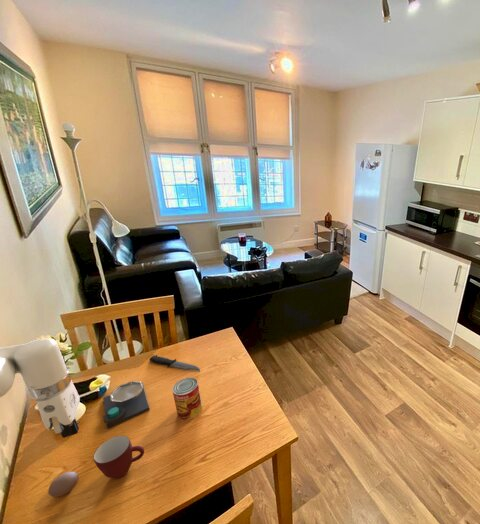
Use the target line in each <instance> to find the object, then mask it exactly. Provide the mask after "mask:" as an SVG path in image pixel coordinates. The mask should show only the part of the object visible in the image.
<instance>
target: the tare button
mask: <svg viewBox="0 0 480 524" xmlns="http://www.w3.org/2000/svg"><path fill="white" fill-rule="evenodd" d="M108 415H109V417H110V418H114V417H116V416H117V415H119V409H118V408H117V407H115V408H112V409H110V410H109V411H108Z"/></svg>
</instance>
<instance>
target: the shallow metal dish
mask: <svg viewBox="0 0 480 524" xmlns="http://www.w3.org/2000/svg"><path fill="white" fill-rule="evenodd" d="M142 383H143V382H142V381H138V380H130V381H127V382H125V383H122V384H119V385H118V386H116V387H115V389H114V390H112V391H111V392H110V393H109V395H110V399H111V402H112V403H120V404H122V403H125V402H128V401H131V400H133V399H135V398H136V397H137V396H138V395H139V394H140V393H141V392H142V391H143V387H144V385H143V386H142Z"/></svg>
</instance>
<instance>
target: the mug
mask: <svg viewBox="0 0 480 524" xmlns="http://www.w3.org/2000/svg"><path fill="white" fill-rule="evenodd" d="M134 452H139V454H138V455H137V456H134V457H133V453H134ZM144 455H145V448H144V447H143V446H141V445H135V446H133V445H132V442H131V439H130V438H129V437H128V436H126V435H116V436H114V437H113V436H112V437H111V438H109V439H106V441H104V442H103V443H101V444H100V445H99V446H98V447H97V449H96V450H95V452H94V454H93V460H94V463H95V466H96V467H97V468H98V470H99V471H100V472H101V473H102V475H104V476H105V477H106V478H108V479H115V480H116V479H117V480H118V479H120V478H123V477H124V476H125V475H126V474H127V473H128V472H129V470H130V468H131V465H132V464H133V463H134V462H137V461H139V460H140V459H141V458H143V457H144Z"/></svg>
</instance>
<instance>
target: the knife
mask: <svg viewBox="0 0 480 524" xmlns="http://www.w3.org/2000/svg"><path fill="white" fill-rule="evenodd" d="M149 362H151V363H154V364H157V365H162V366H166V367H167V368H169V367H172V368H177V369H181V370H194V371H197V372H199V373H201V369H200V367H198V366H197V365H194V364H190V363H187V362H182V361H177V358H175V359H171V358H167V357H163V356H158V355H157V354H156V355H151V356H150V358H149Z"/></svg>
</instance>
